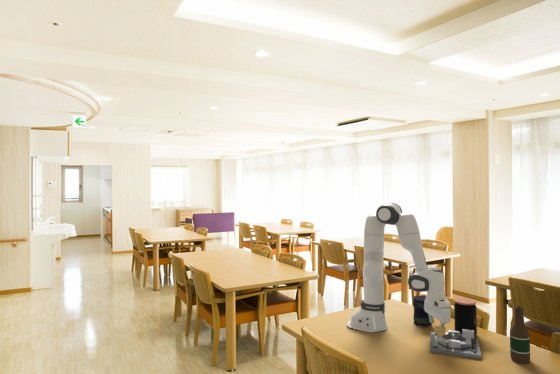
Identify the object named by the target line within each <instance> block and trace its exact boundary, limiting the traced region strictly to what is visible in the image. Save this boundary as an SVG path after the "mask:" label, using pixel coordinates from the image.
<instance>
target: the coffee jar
mask: <svg viewBox="0 0 560 374" xmlns="http://www.w3.org/2000/svg"><path fill="white" fill-rule="evenodd" d="M453 302H454V303H453V304H454V305H453V313H454V317H453V318H454V319H453V320H454V331H459V332H460V334H462V329H465V330H474V337H477V335H478V328H477V327H478V325H477V323H478V322H477V318H478V316H477V305H476V304H477V301H476V300H475V299H472V298H467V297H456V298H453Z"/></svg>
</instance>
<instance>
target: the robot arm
mask: <svg viewBox="0 0 560 374" xmlns="http://www.w3.org/2000/svg"><path fill="white" fill-rule="evenodd" d="M386 225H389V226H390V225H391V226H395V227H396V231H397V234H398V238H399V243H400V245H401V247H402V249H404V250H406V251H408V252H409V253H410V254H411V257H412V259H413V261H412V262H413V263H414V268H415V271H414V273H412V274H411V275H410V276H409V277H408V279H407V285H408V287H409V288H410V289H411V291H413V292H417V293H418V292H419V293H420V292H422V293H423V292H426V295H425V296H426V299H425V301H424V310H425V312H426V313H428V316H429V319H430V322H431V324H435V319H436V320H437V321H439V323H440V325H439V326H438V327H445V325H446V324H450V322H451V319H452V318H451V316H452V315H451V307H452V304H451V302H450V301H449V299H448V298H447V297H446V292H445V287H446V280H445V274H444V272H443V270H442V269H440V268H438V267H433V266H431V267H428V264H427V261H426V256H425V252H424V250H423V243H422V239H421V233H420V229H419V224H418V222H417V219H416V218H415V215H414V214H412V213H410V212H409V213H408V212H405V213H403V210H402V208H401V206H400V205H399V204H398V203H395V202H388V203H384V204H381V205H380V206H378V207H377V209H376V213H375V214H374V213H373V214H370V215H368V216H367V217H366V219H365V224H364V231H363V232H364V233H363V234H364V235H363V266H362V280H363V283H362V285H363V299H361V301H360V305H359V306H360V307H359V308H358V309H357V310H355V311H354V312H353V313H352V314H351V317H350V320H348V321H347V323H346V327H347V326H348V327H349V328H348V327H347V328H348V329H351V328H353V330H356V329H357V331H362V332H366V333H367V332H368V333H376V332H377V333H378V332H383V331H386V330H388V324H387V320H386V314H385V313H386V304H385V295H384V293H385V290H384V252H385V251H384V250H385V228H386Z"/></svg>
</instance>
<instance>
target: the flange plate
mask: <svg viewBox="0 0 560 374" xmlns="http://www.w3.org/2000/svg"><path fill="white" fill-rule="evenodd" d="M445 339H446V340H448V339H452V340H460V339H458V334H456V333H450V338H445ZM429 340H430V341H429V353H432V354H439V355H447V356H453V357H454V356H456V357H461V358H467V359H476V360H482V352H481V348H480V343H479V339H478V337H477V336H475V337H474V339H471V347H468V348H463V349H462V348H461V349H459V348H451V347H448V346H447V347H446V346H444V345H442V344H440V343H438V335H437V334H435V331H430V339H429ZM460 341H461V342H463V340H460Z"/></svg>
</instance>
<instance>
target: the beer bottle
mask: <svg viewBox="0 0 560 374" xmlns="http://www.w3.org/2000/svg"><path fill="white" fill-rule="evenodd" d="M513 309H514V319H513V320H514V321H513V324H512V326H511V327H510V329H509V354H510V355H509V357H510V359H511V360H512V361H513V362H515V363H518V364H525V365H526V364H529V363H531V337H530V332H529V329H528V328H527V327H526V325H525V319H524V318H525V315H524V311H525V310H524V307H523V306H519V305H516V306H514V308H513Z"/></svg>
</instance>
